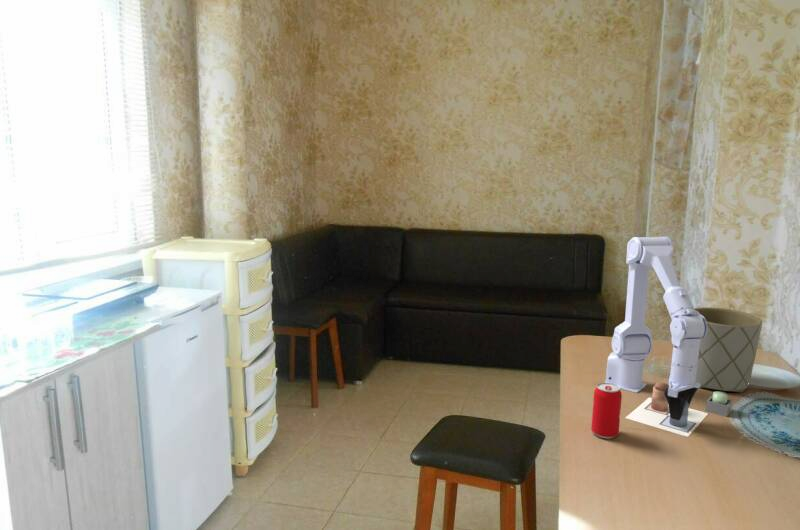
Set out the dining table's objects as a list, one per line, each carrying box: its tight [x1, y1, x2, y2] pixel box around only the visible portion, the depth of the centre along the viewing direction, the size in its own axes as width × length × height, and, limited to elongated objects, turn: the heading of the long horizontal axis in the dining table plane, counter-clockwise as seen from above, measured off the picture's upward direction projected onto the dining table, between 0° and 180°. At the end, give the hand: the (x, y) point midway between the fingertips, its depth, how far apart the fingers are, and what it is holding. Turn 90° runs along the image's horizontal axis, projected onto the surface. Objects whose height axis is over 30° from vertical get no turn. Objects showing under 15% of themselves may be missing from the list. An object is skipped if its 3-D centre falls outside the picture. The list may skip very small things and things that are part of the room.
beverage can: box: [590, 382, 623, 439], centre depth 147 cm, size 6×6×12 cm
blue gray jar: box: [669, 402, 690, 427], centre depth 153 cm, size 4×4×6 cm
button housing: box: [704, 394, 734, 418], centre depth 161 cm, size 5×5×3 cm
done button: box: [712, 390, 729, 405], centre depth 161 cm, size 3×3×3 cm
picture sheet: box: [625, 397, 709, 438], centre depth 158 cm, size 15×17×1 cm
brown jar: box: [651, 382, 669, 412], centre depth 162 cm, size 4×4×6 cm
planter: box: [694, 306, 763, 393], centre depth 179 cm, size 19×19×20 cm
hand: (678, 415), depth 153 cm, fingers open, 4 cm apart
